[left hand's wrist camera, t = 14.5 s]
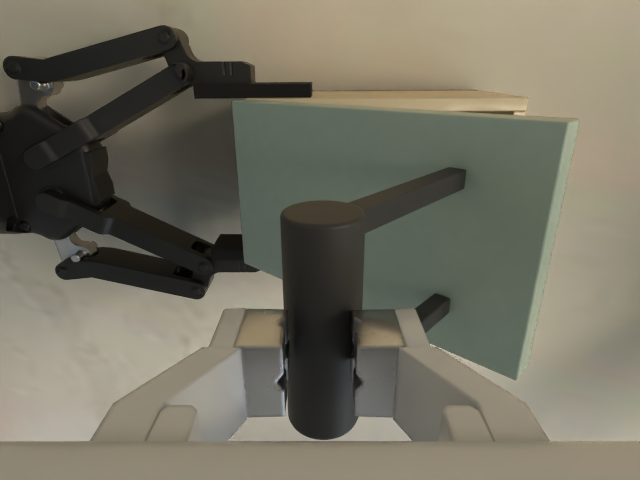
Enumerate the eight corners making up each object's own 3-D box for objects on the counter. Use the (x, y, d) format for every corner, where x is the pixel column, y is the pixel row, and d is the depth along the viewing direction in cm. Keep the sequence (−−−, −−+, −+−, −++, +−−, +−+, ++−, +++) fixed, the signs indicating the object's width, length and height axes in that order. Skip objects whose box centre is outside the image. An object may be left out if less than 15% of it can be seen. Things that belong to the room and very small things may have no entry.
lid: (580, 118, 13) (433, 168, 7) (528, 364, 17) (397, 556, 10) (250, 99, 23) (60, 111, 16) (260, 256, 26) (105, 318, 20)
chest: (474, 89, 31) (529, 97, 23) (459, 210, 35) (503, 255, 26) (265, 90, 32) (243, 98, 23) (271, 210, 35) (253, 255, 26)
